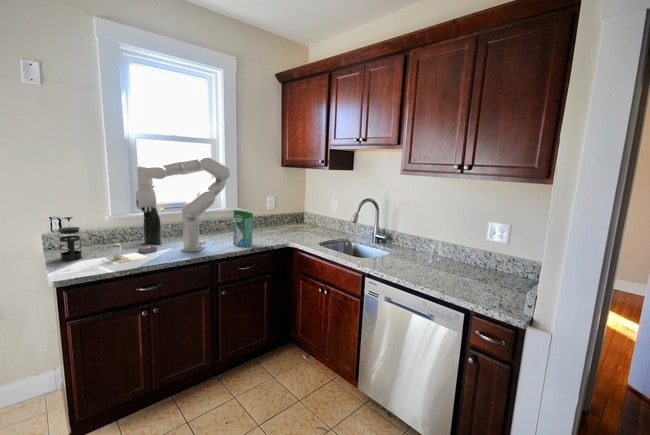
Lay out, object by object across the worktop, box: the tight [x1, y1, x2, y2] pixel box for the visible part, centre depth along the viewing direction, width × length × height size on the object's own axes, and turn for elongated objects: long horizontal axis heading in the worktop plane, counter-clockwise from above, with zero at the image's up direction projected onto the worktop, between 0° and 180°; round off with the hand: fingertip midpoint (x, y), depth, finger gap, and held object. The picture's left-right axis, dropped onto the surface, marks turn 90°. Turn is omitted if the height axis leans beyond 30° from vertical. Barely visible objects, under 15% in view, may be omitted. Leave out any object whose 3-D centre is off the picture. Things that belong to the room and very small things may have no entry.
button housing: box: [137, 244, 158, 254], centre depth 191 cm, size 7×7×4 cm
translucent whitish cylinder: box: [111, 242, 123, 259], centre depth 174 cm, size 4×4×8 cm
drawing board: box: [101, 252, 149, 265], centre depth 176 cm, size 20×16×1 cm
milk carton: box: [232, 209, 254, 248], centre depth 218 cm, size 9×9×25 cm
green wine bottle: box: [142, 207, 162, 246], centre depth 210 cm, size 10×10×33 cm
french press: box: [58, 216, 83, 262], centre depth 171 cm, size 12×9×23 cm
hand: (147, 218), depth 188 cm, fingers closed
